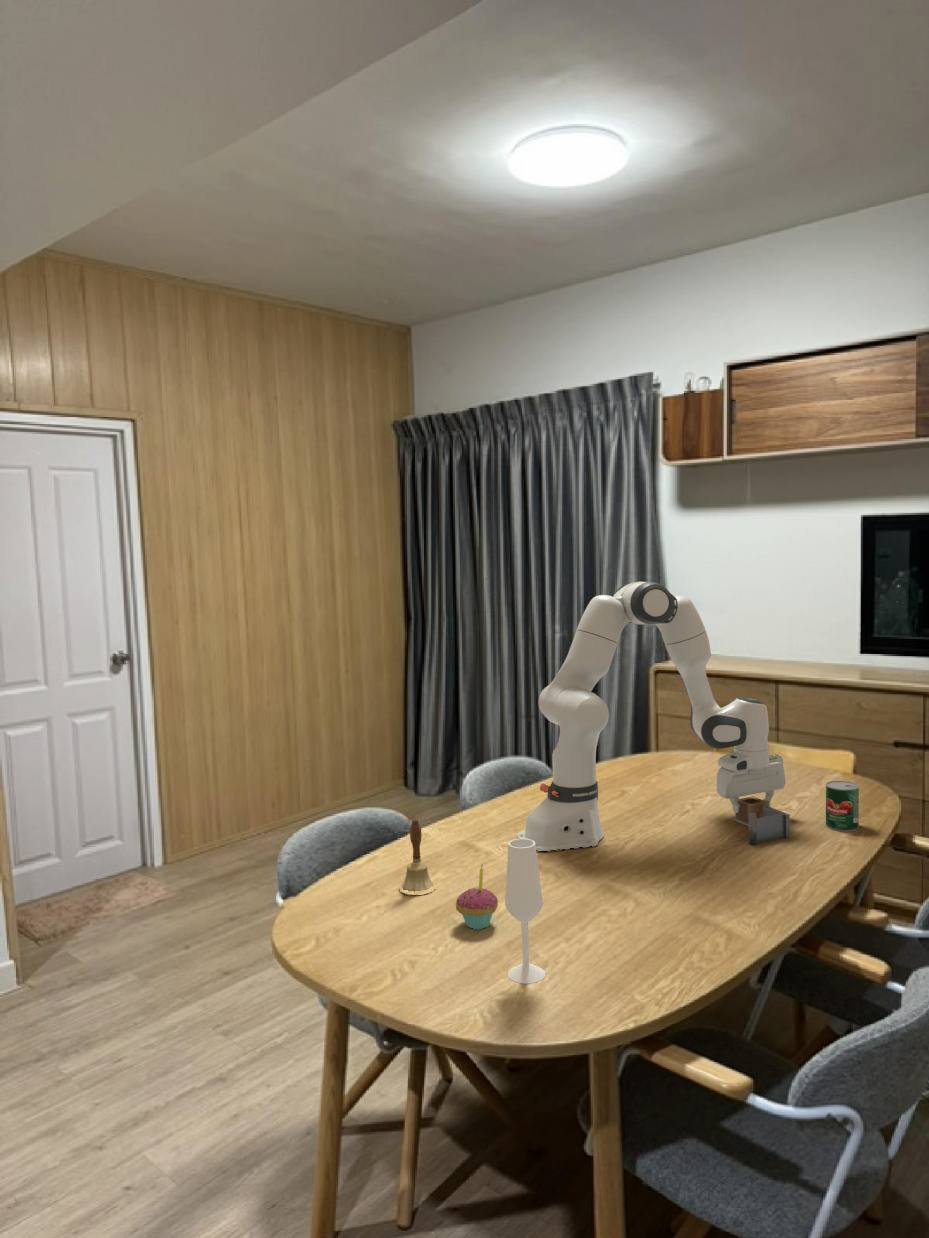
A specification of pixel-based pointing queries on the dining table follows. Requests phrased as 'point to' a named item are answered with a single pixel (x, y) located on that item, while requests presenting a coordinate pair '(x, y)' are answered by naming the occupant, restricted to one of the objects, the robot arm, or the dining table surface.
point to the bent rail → (768, 826)
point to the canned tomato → (842, 806)
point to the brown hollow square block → (750, 808)
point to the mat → (741, 821)
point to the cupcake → (477, 905)
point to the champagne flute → (523, 901)
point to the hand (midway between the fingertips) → (751, 809)
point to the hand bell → (416, 864)
